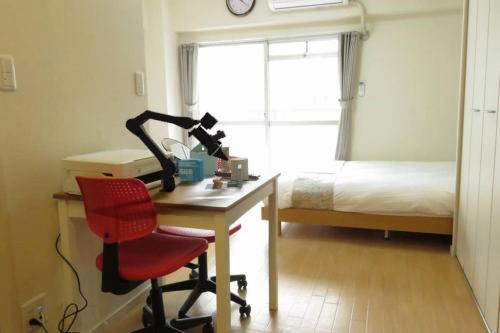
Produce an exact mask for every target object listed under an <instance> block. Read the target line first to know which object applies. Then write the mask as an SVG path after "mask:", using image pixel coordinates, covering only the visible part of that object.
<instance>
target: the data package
mask: <svg viewBox="0 0 500 333" xmlns="http://www.w3.org/2000/svg"><path fill="white" fill-rule="evenodd" d="M177 164H178V178H179V182H180V183H181V182H203V181H204V180H205V177H204V172H203V161H202V159H190V158H183V159H180V160H179V161H177Z"/></svg>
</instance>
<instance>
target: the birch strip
mask: <svg viewBox="0 0 500 333" xmlns="http://www.w3.org/2000/svg"><path fill="white" fill-rule="evenodd" d="M222 152H223V153H224V154H225V155H226V157H227V158H228V161H225V160H222V159H220V173H221V174H222V173H223V174H224V173H225V174H227V173H228V174H229V173H230V174H231V162H230V159H231V158H230V146H222Z"/></svg>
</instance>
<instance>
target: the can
mask: <svg viewBox="0 0 500 333" xmlns="http://www.w3.org/2000/svg"><path fill="white" fill-rule="evenodd" d="M238 164H242V182H243V181H248V180H249V158H248V157H232V158H230V179H231V180H230V181H238Z"/></svg>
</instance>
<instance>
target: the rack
mask: <svg viewBox="0 0 500 333" xmlns="http://www.w3.org/2000/svg"><path fill="white" fill-rule="evenodd" d="M213 184H214V183H207V184H206V186H205V187H204V190H215V189H221V190H222V189H239V188H240V189H242V188H244V187H243V186H244V182H243V181H242V164H238V181H234V180H228V181H227V182H223V185H222V188H213Z"/></svg>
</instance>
